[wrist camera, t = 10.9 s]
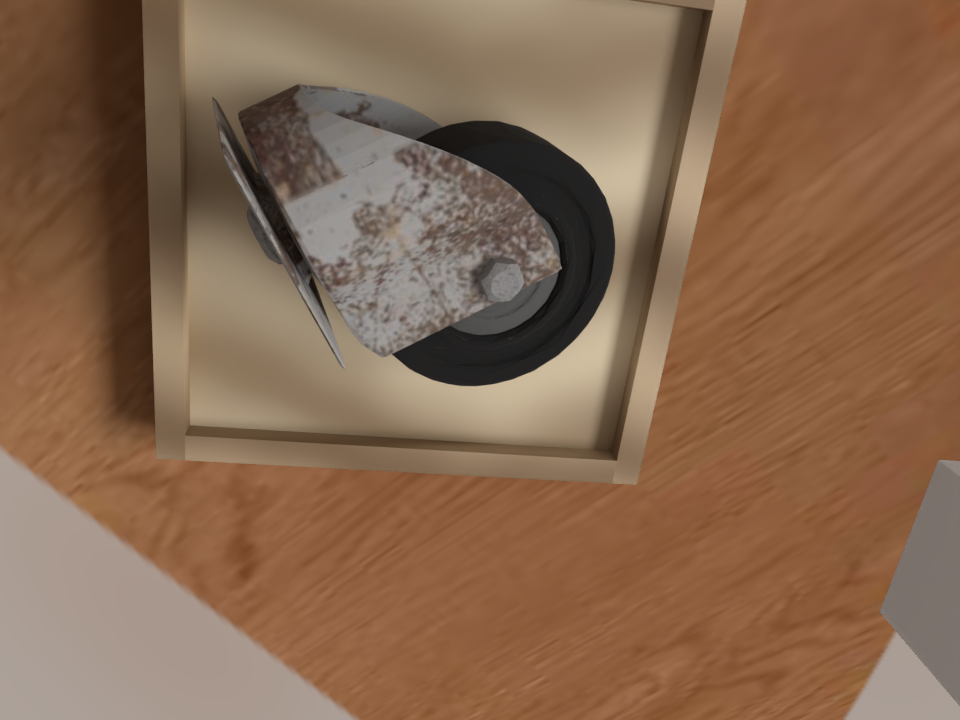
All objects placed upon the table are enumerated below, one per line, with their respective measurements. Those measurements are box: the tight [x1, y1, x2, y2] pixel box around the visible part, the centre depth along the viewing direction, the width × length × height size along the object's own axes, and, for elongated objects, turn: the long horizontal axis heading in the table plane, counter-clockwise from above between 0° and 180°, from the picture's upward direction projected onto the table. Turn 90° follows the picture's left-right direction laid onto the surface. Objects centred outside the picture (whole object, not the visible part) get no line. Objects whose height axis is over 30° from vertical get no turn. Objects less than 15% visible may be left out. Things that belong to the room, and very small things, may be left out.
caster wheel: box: [212, 84, 615, 386], centre depth 24 cm, size 7×11×10 cm
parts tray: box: [142, 0, 747, 485], centre depth 27 cm, size 18×18×2 cm
